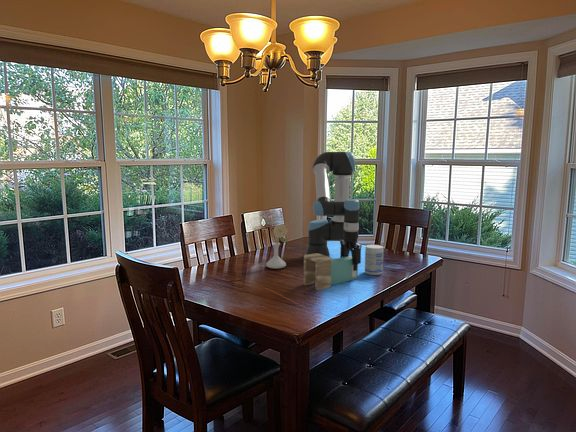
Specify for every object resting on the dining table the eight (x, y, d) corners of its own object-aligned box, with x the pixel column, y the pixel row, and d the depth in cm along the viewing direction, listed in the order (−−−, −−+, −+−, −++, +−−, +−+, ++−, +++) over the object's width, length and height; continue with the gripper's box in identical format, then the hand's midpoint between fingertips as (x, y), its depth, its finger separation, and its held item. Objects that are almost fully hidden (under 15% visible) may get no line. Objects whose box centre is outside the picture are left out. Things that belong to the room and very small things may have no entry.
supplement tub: (379, 276, 219) (380, 249, 217) (362, 274, 223) (362, 247, 221) (384, 272, 227) (385, 245, 225) (368, 269, 232) (368, 243, 230)
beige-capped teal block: (322, 282, 207) (322, 260, 205) (350, 276, 218) (351, 255, 216) (329, 285, 203) (329, 262, 201) (357, 278, 214) (358, 257, 212)
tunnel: (303, 285, 204) (303, 255, 202) (316, 282, 208) (316, 252, 206) (317, 291, 195) (317, 259, 193) (330, 288, 200) (331, 257, 197)
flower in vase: (262, 268, 233) (261, 224, 229) (272, 263, 243) (272, 221, 239) (282, 271, 227) (282, 226, 223) (292, 266, 237) (292, 223, 233)
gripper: (333, 228, 215) (332, 272, 219) (358, 234, 201) (356, 280, 204) (344, 227, 220) (343, 269, 223) (369, 232, 205) (367, 278, 208)
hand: (349, 275), depth 214 cm, fingers closed on beige-capped teal block, 5 cm apart
